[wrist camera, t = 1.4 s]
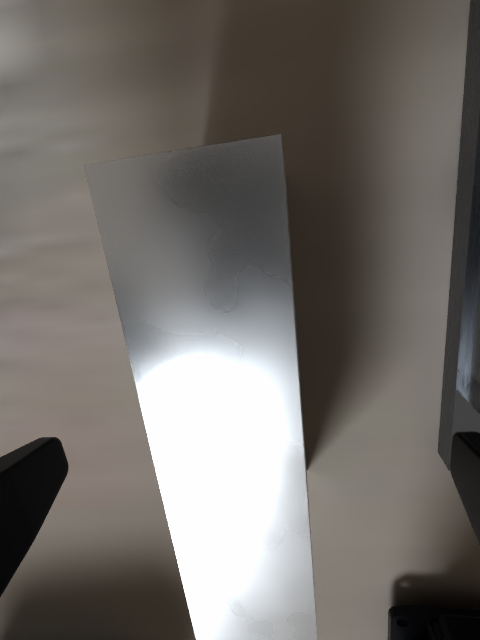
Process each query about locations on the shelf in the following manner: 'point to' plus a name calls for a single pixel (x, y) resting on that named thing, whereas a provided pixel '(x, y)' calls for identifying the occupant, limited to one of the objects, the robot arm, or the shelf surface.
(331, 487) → the shelf surface
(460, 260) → the rack
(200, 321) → the panel
